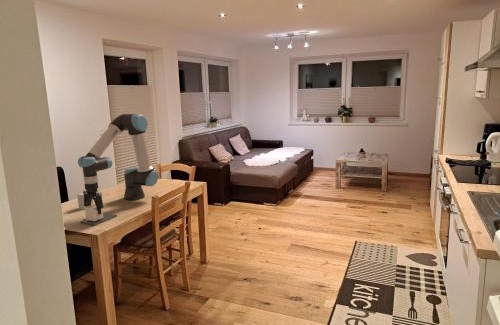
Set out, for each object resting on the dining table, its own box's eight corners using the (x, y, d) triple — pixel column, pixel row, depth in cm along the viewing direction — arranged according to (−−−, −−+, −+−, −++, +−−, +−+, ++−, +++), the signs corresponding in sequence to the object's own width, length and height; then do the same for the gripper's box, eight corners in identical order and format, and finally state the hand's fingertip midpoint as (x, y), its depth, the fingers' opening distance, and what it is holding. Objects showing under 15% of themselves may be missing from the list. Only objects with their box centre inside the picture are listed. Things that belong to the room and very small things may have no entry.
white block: (95, 216, 224) (94, 203, 223) (103, 217, 221) (102, 204, 220) (86, 219, 218) (84, 206, 217) (94, 221, 215) (92, 208, 214)
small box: (87, 205, 252) (86, 191, 250) (93, 206, 250) (92, 191, 248) (78, 208, 245) (76, 194, 243) (84, 209, 243) (83, 194, 241)
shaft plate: (103, 214, 233) (103, 206, 232) (117, 216, 228) (116, 208, 227) (80, 223, 218) (79, 214, 216) (94, 226, 212) (93, 217, 211)
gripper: (74, 182, 216) (78, 217, 221) (97, 185, 208) (101, 222, 212) (85, 179, 223) (88, 214, 227) (107, 182, 214) (111, 218, 219)
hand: (94, 218), depth 220 cm, fingers closed on white block, 7 cm apart
